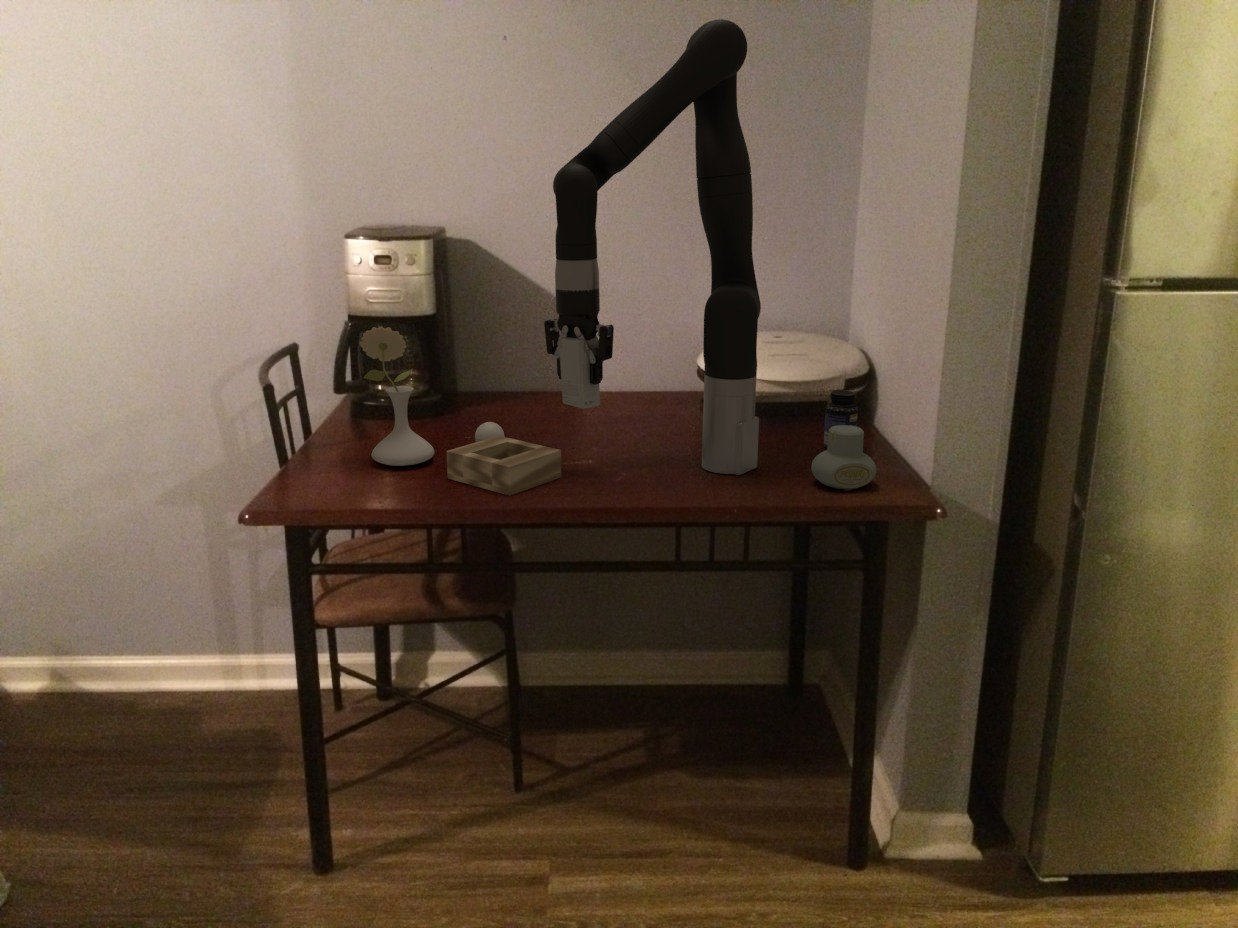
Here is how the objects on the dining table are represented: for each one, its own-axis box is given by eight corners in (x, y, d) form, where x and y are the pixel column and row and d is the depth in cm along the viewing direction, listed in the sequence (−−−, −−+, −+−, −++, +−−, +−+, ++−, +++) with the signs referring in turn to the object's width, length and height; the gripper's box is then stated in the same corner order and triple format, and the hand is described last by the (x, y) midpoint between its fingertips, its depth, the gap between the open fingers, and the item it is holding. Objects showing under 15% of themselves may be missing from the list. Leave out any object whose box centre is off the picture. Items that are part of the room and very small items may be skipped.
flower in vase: (445, 456, 192) (439, 323, 184) (418, 473, 181) (410, 333, 174) (382, 450, 195) (374, 320, 188) (352, 467, 185) (342, 330, 177)
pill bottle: (853, 453, 195) (857, 397, 192) (821, 450, 197) (824, 394, 194) (856, 445, 201) (861, 390, 197) (825, 442, 202) (829, 388, 199)
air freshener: (863, 476, 181) (868, 422, 178) (881, 491, 173) (886, 434, 170) (804, 478, 180) (807, 423, 177) (819, 493, 172) (823, 436, 169)
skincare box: (601, 406, 179) (600, 337, 176) (581, 410, 177) (579, 340, 173) (579, 400, 184) (578, 333, 180) (559, 404, 181) (557, 336, 178)
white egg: (504, 446, 199) (503, 418, 197) (505, 454, 193) (504, 425, 192) (464, 447, 197) (463, 419, 196) (464, 455, 192) (463, 427, 190)
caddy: (561, 477, 179) (560, 450, 178) (509, 495, 170) (508, 467, 168) (499, 461, 188) (499, 435, 187) (447, 478, 178) (446, 451, 177)
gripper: (624, 286, 173) (625, 382, 178) (559, 281, 181) (562, 373, 186) (596, 291, 167) (598, 390, 172) (531, 285, 176) (534, 380, 180)
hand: (579, 381), depth 179 cm, fingers closed on skincare box, 6 cm apart
